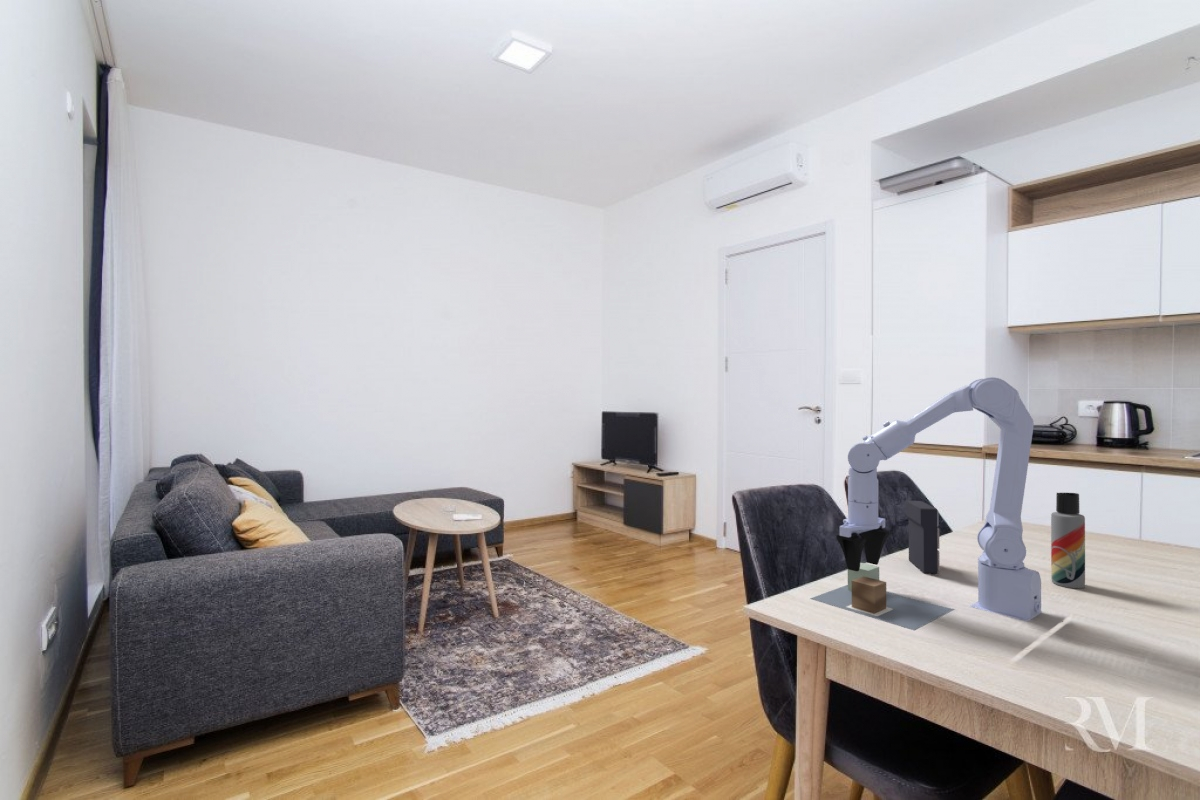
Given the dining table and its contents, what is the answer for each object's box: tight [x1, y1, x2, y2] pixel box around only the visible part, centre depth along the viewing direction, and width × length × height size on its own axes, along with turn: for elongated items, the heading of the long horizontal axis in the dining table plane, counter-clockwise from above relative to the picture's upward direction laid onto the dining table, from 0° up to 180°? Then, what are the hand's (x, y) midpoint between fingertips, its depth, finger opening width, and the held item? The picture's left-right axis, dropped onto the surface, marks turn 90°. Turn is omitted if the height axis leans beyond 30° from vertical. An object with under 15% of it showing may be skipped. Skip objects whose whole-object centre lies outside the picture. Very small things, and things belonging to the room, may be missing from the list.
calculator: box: [905, 500, 941, 575], centre depth 138 cm, size 11×4×15 cm, turn 168°
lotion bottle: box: [1050, 492, 1086, 589], centre depth 125 cm, size 6×6×20 cm
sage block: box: [847, 562, 880, 591], centre depth 120 cm, size 4×4×5 cm
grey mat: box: [809, 584, 955, 631], centre depth 112 cm, size 20×16×1 cm
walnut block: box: [852, 576, 887, 614], centre depth 110 cm, size 4×4×5 cm
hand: (863, 566), depth 120 cm, fingers open, 7 cm apart
